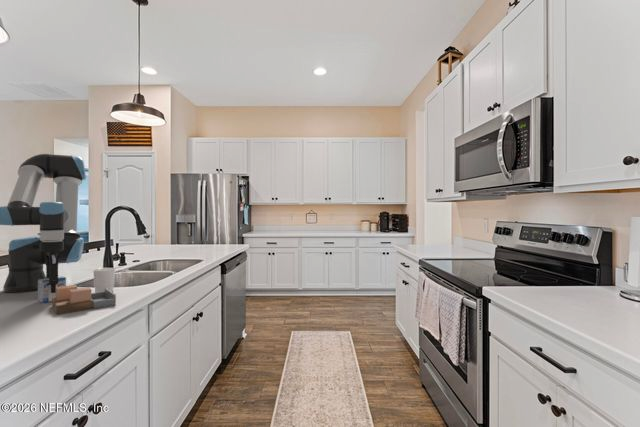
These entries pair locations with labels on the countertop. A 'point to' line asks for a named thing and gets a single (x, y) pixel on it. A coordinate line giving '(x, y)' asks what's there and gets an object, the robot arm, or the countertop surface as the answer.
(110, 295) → the tray
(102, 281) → the white cup
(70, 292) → the tile
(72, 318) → the countertop surface
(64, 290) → the tile
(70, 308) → the walnut plate
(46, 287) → the medicine box
